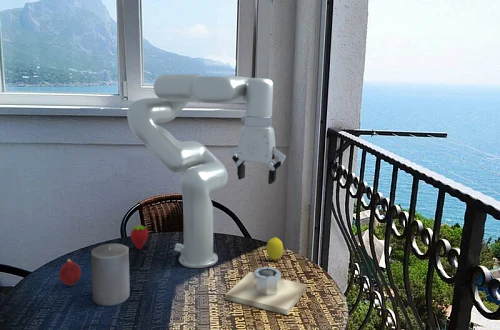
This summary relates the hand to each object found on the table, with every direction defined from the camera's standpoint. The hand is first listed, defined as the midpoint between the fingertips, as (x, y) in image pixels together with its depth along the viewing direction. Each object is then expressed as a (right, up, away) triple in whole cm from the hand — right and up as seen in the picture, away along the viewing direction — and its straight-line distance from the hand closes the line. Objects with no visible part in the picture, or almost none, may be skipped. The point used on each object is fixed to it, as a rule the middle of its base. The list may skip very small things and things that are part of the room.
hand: (256, 180), depth 133 cm
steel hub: (+3, -30, -5) cm, 31 cm away
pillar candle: (-39, -32, -9) cm, 51 cm away
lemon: (+6, -27, +18) cm, 33 cm away
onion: (-53, -30, -2) cm, 61 cm away
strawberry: (-40, -25, +25) cm, 53 cm away
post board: (+3, -32, -5) cm, 32 cm away
